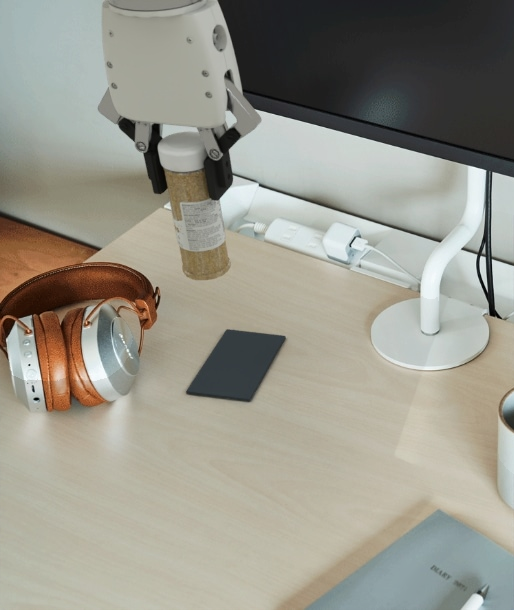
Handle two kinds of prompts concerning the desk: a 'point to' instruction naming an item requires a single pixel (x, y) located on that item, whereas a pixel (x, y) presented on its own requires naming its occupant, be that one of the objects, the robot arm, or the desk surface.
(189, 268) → the brown spice jar
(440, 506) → the desk surface
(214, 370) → the mat
